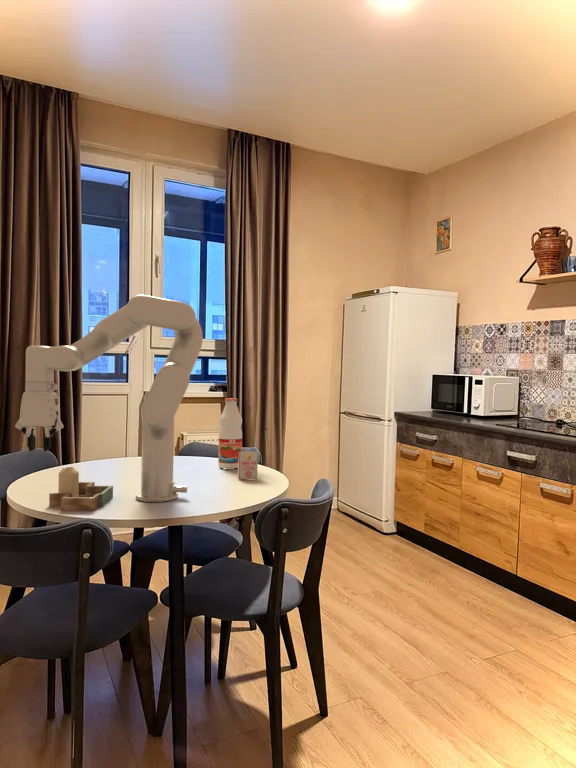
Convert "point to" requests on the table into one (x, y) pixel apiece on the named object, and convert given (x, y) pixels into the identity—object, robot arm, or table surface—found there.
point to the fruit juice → (230, 435)
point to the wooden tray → (82, 498)
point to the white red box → (247, 465)
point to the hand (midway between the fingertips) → (39, 449)
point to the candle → (69, 481)
